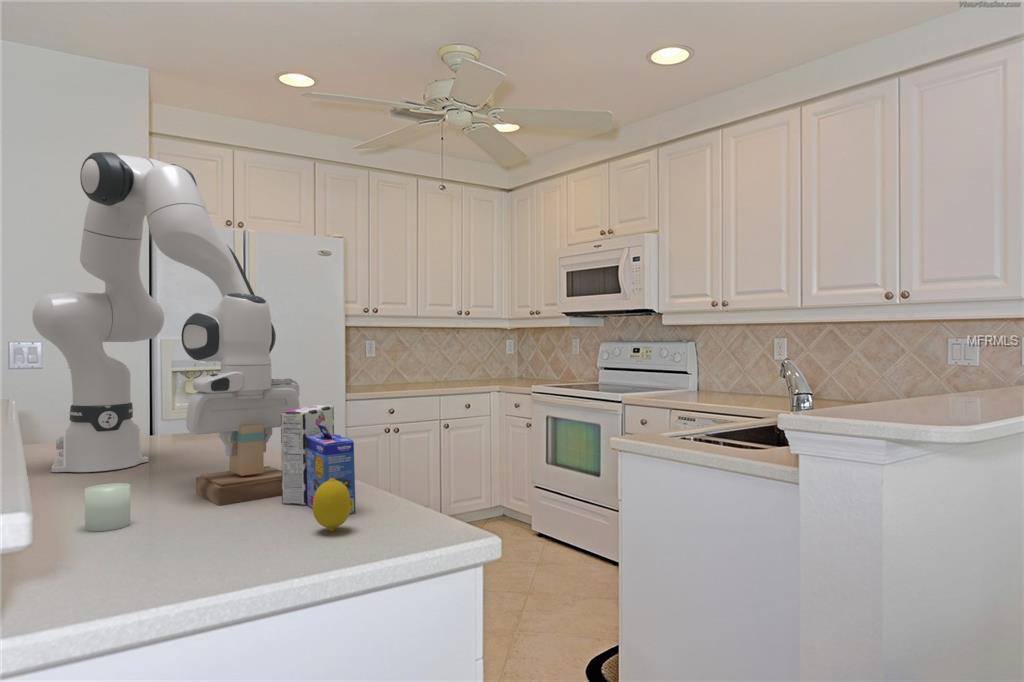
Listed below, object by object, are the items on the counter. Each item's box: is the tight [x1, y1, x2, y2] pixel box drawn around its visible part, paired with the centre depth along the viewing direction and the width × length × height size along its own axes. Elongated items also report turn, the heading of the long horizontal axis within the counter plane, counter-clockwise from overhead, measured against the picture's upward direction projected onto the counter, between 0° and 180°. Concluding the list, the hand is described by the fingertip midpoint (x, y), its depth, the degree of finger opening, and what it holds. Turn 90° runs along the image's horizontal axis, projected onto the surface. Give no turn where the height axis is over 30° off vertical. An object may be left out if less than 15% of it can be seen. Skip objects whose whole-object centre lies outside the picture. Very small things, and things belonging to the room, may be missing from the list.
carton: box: [228, 424, 265, 476], centre depth 123 cm, size 6×4×9 cm
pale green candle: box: [84, 482, 131, 532], centre depth 101 cm, size 6×6×6 cm
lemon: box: [312, 478, 351, 532], centre depth 99 cm, size 6×6×8 cm
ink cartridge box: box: [306, 424, 357, 514], centre depth 112 cm, size 10×6×14 cm, turn 35°
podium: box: [195, 465, 282, 506], centre depth 123 cm, size 12×14×4 cm
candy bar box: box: [280, 404, 335, 506], centre depth 120 cm, size 11×5×16 cm, turn 168°
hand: (246, 453), depth 123 cm, fingers closed on carton, 4 cm apart
